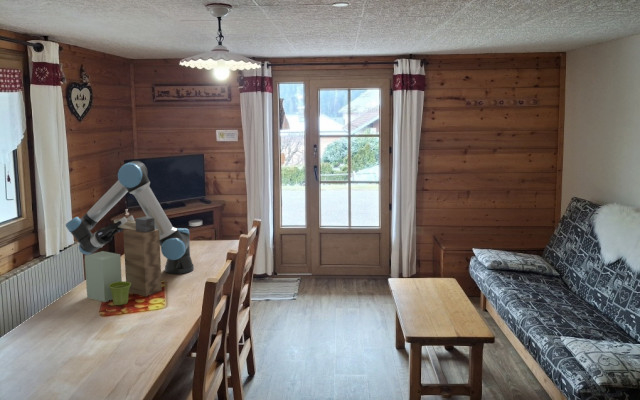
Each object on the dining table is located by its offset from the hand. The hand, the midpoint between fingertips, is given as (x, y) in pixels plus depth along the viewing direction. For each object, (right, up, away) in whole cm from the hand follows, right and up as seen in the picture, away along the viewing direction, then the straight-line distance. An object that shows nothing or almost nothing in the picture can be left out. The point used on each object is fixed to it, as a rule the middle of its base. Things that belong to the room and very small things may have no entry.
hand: (129, 218), depth 266 cm
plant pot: (+1, -38, -14) cm, 41 cm away
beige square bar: (+2, -5, 0) cm, 5 cm away
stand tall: (+6, -35, +2) cm, 36 cm away
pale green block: (-9, -36, -6) cm, 38 cm away
